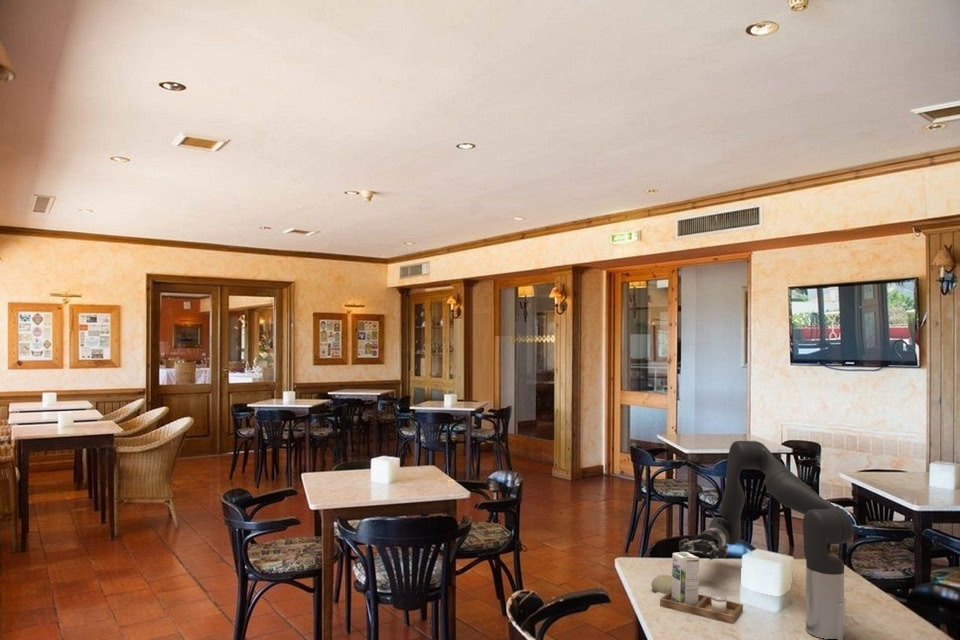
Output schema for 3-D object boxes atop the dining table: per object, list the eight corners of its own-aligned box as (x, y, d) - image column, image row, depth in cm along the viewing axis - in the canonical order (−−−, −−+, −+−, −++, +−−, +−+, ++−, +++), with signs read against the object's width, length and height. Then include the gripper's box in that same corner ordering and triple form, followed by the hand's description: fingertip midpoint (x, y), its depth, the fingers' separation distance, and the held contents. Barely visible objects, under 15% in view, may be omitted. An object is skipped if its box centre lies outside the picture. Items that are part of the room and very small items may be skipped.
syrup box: (670, 601, 200) (671, 552, 200) (687, 599, 202) (688, 551, 202) (682, 609, 194) (682, 558, 195) (699, 607, 196) (699, 556, 197)
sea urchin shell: (686, 592, 205) (667, 572, 207) (667, 609, 206) (649, 589, 208) (684, 582, 214) (665, 563, 216) (666, 598, 215) (647, 579, 217)
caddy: (742, 614, 194) (742, 604, 194) (732, 627, 185) (732, 616, 185) (672, 598, 206) (672, 588, 206) (659, 609, 196) (660, 599, 197)
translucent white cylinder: (728, 612, 193) (728, 596, 193) (724, 616, 189) (724, 600, 190) (713, 608, 195) (713, 593, 195) (709, 613, 192) (709, 597, 192)
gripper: (689, 526, 226) (674, 537, 212) (733, 533, 218) (720, 545, 204) (689, 548, 226) (673, 561, 212) (733, 557, 217) (720, 570, 204)
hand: (696, 553), depth 208 cm, fingers open, 8 cm apart
